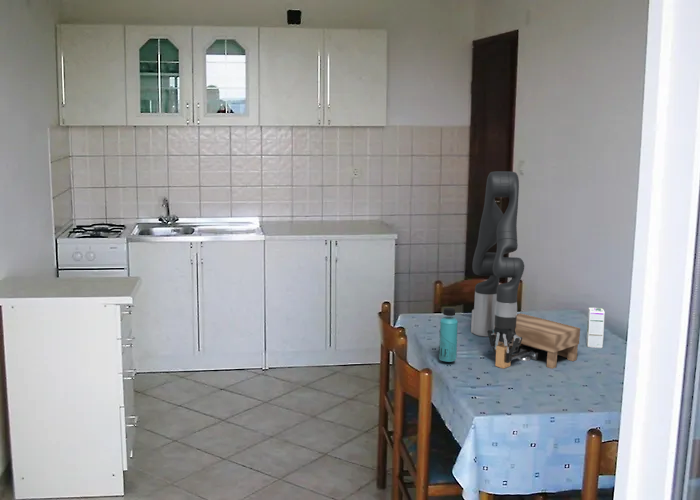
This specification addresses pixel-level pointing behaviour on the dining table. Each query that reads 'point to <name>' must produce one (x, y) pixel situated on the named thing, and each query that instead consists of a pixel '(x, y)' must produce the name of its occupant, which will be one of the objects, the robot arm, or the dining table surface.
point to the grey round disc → (524, 358)
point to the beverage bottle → (448, 336)
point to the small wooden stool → (548, 337)
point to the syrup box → (595, 327)
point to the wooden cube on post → (502, 355)
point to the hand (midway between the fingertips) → (503, 360)
